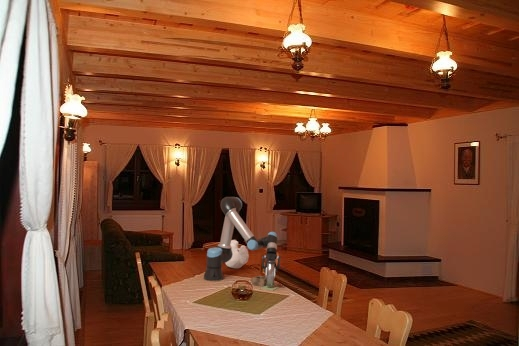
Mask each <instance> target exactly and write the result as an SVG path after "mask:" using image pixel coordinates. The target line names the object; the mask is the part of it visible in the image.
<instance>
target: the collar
mask: <svg viewBox="0 0 519 346" xmlns="http://www.w3.org/2000/svg"><path fill="white" fill-rule="evenodd" d="M250 280H251V281H250V284H251V283H252V285H251V286H256V287H257V286H258V287H264V286H266V283H267V277H266V275H263V276H262V275H256V276H253V277H251V278H250Z"/></svg>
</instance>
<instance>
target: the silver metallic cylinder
mask: <svg viewBox="0 0 519 346" xmlns="http://www.w3.org/2000/svg"><path fill="white" fill-rule="evenodd" d="M266 262H267V283H266V286H270V287H272V286H275V285H274V283H275V278H274V268H275V266H274V263H275V262H276V263H277V260H276V259H275V260H267V259H266ZM266 262H265V263H266Z"/></svg>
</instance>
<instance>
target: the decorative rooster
mask: <svg viewBox="0 0 519 346" xmlns="http://www.w3.org/2000/svg"><path fill="white" fill-rule="evenodd" d="M230 245H231V247H232V249H231V250H232V253H233V255H232V258H231V259H230V260H229V261H228V262H225V263H224V264H225V265H226V266H227V267H228V268H231V269H235V270H236V269H240V268H242V267H243V266H244V265H246V263H247V262H248V261H249V257H250V254H249V249H248V248H247V247H246V246H245V245H241V246H240V247H239V241H237V239H231V244H230Z"/></svg>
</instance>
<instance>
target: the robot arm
mask: <svg viewBox="0 0 519 346" xmlns="http://www.w3.org/2000/svg"><path fill="white" fill-rule="evenodd" d="M242 207H243V202H242V200H241V199H240V198H239V197H235V196H225V197H224V198H222V199H221V201H220V209H221V211H222V212H223V214H224V215H225V217H224V221H223V226H222V230H221V236H220V241H219V243H218V244H217V247H215V246H214V247H210V248H208V249H207V251H206V252H207V253H206V269H205V272H204V274H203V279H204V280H205V281H211V282H212V281H213V282H214V281H215V282H216V281H222V280H224V274H223V269H222V264H225V262H228V261H229V260H230V259H231V258H232V255H233V253H232V250H231V249H232V247H231V245H230V244H231V240H233V239H232V238H233V234H234V229H235V228H236V230H237V231H238V233H239V234H240V235H241V237H242V238H243V239H244V241H245V242H246V243H247V244H246V246H247V247H246V248H247V250H250V251H256V250H259V249H262V248H266V254H265V255H262V256H261V257H262V264H261V268H262V269H264V270H263V271H264V273H265V277H267V262H265V259H266V260H276V259H277V261H276V262H275V263H274V279H275V278H276V274H277V273H278V270H280V267H281V266H280V263H281V262H280V261H281V256H279V255H278V252H277V251H278V234H277V232H275V231H270V232H268V233H267V236H264V237H260V238H256V236H255V235H254V233H253V232H252V231H251V230H250V228H249V227H248V225H247V224H246V223H245V221H244V220H243V218H242V217H241V216H240V214H239V212H240V211H241V209H242Z"/></svg>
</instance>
